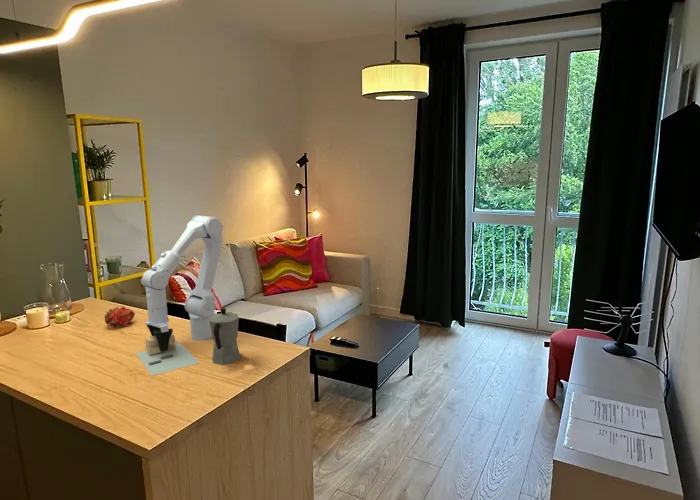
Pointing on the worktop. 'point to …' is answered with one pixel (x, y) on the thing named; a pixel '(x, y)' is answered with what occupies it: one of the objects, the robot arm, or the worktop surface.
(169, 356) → the pencil mark
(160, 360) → the pencil mark
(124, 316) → the dragon fruit
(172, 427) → the worktop surface
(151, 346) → the block
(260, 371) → the worktop surface
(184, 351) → the board
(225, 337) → the coffeepot
